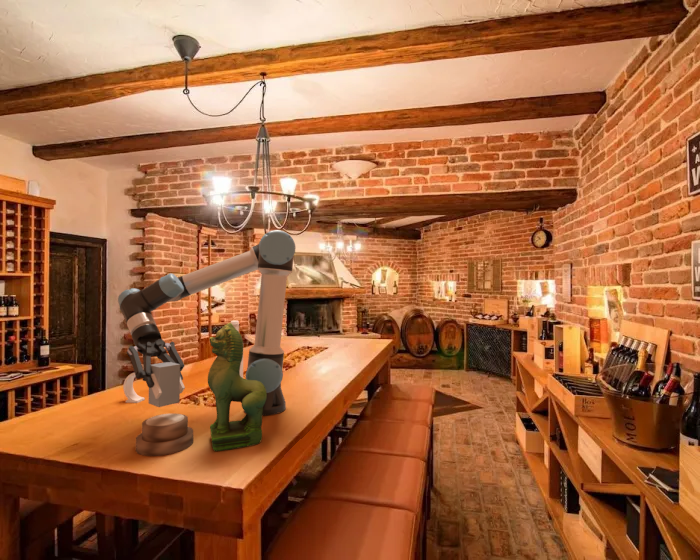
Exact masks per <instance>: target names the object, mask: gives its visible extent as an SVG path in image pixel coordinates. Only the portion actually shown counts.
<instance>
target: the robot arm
mask: <svg viewBox="0 0 700 560" xmlns="http://www.w3.org/2000/svg"><path fill="white" fill-rule="evenodd" d="M295 254H296V243H295V241H294V239H293V237H292V236H291V235H290V234H289V233H288V232H286V231H284V230H282V229H281V230H280V229H274V230H269V231H268V232H266V233H265V234H263V236H262V237H261V238H260V240H259V243H258V244H257V245H256V244H255V245H253V246H251V247H250V249H249V250H248V251H245V252H242V253H241V254H237V255H235V256H232V257H229V258H226V259H223V260H221V261H218V262H215V263H213V264H210V265H207V266H205V267H202V268H199V269H197V270H194V271H191V272H189V273H186V274H182V275H180V276H177V275H175V274H174V273H171V272H170V273H168V274H165V276H161V277H160V278H159V279H157V280H156V281H154V282H153V283H151V284H150V285H147V286H146V287H145V288H142V289H141V290H140V289H139V288H134V287H131V288H130V289H125V290H123V291H122V292H121V293H120V294H119V295H118V297H117V302H118V306H119V310H120V312H121V313H122V316H123V318H124V321H125V323H126V326H127V329H128V331H129V334H130V336H131V339H132V341H133V344H134V345H135V346H133V345H129V347H128V348H127V351H126V354H127V355H128V357H129V358H130V360H131V365H132V367H133V373H135V375H136V377H135V378H136V379H138V380H139V379H142V381H143V382H145V383H146V386H147V388H148V389H149V388H152V390H153V393H154V395H155V398H156V399H158V398H159V397H160V395H161V394H162V391H161V389H160V386H159V384H158V381H157V379H156V377H155V374H151V363H152V361H151V358H152V357H156V358H157V359H158V360H161V363H165V362H172V363H177V364H180V394H182V393H183V392H184V390H185V388H186V387H185V385H184V382H183V380H184V377H183V374H182V371H183V369H184V367H185V364H184V361H183V360H182V358H181V356H180V354H179V352H178V351H177V349H176V345H175V342H174V341H170V342H165V340H163V338H162V335H161V332H160V330H159V327H158V326H157V323H156V320H155V318H154V316H153V314H152V312H153V311H155V310H157V309H158V308H160V307H161V306H163V305H164V304H167V303H169V302H170V303H171V302H178V301H180V300H182V299H185V298H187V297H189V296H192V295H194V294H197V293H200V292H202V291H205V290H207V289H209V288H212V287H216V286H217V285H221V284H224V283H225V282H226V283H227V282H228V281H229V282H230V281H231V280H234V279H237V278H238V277H241V276H244V275H247V274H251V273H252V272H255V271H258V272H259V273H260V274H261V278H260V287H259V295H258V297H259V299H258V306H257V314H256V315H257V316H256V323H255V324H256V326H255V334H254V336H255V337H254V344H253V345H252V346H251V347H250V348H249V350H248V356H247V357H248V359H247V366H246V367H247V369H246V371H245V379H246V380H257V381H260V382H261V383H262V384H263V385H264V386H265V388H266V392H267V397H266V401H265V404H264V406H263V412H262V417H263V416H264V417H265V416H271V415H272V416H273V415H277V414H280V413H282V412H284V411H285V410H286V399H285V397H284V393H283V390H282V381H283V377H284V373H283V367H284V355H285V351H284V349H283V348H282V347H281V340H282V332H283V331H282V330H283V322H284V321H283V320H284V310H285V301H286V290H287V282H288V281H287V280H288V276H289V275H291V274H292V273H293V267H294V266H293V265H294V257H295V256H294V255H295ZM138 352H139V353H140V354H142V362H143V363H142V362H141V359H140V356H139V355H140V354H139V353H138ZM243 412H244V413H245V414H246V412H245V411H244V410H243Z"/></svg>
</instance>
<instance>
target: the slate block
mask: <svg viewBox="0 0 700 560" xmlns="http://www.w3.org/2000/svg"><path fill="white" fill-rule="evenodd" d="M151 374H155V377H156V379H157V381H158V384H159V386H160V389H161V391H162V394H161V395H160V397H159V398H158V399H156V398H155V395H154V393H153V390H152V388H149V387H148V404H149V405H152V406H154V407H157V408H162V407H165V406H166V407H167V406H170V405H174V404H178V403H180V399H181V398H180V397H181V395H180V394H181V393H180V364H177V363H172V362H165V363H163V362H159V363H152V364H151Z"/></svg>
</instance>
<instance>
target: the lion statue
mask: <svg viewBox="0 0 700 560" xmlns="http://www.w3.org/2000/svg"><path fill="white" fill-rule="evenodd" d="M209 343H210V346H211V347H212V348H211V352H212V354H214V355H216V357H215V359H214V360H213V362H212V364H211V365H210V368H209V370H208V373H207V374H208V375H207V384H208V387H209V390H211V392H212V393H213V395H214V399H215V409H216V410H215V411H216V420H215V421H214V422H213V423H211V424H210V428H209V429H210V437H211V439H210V440H211V444H212V445H211V446H212V450H213V451H214V452H220V451H223V452H224V451H230V450H234V449H239V448H240V449H242V448H247V447H248V448H249V447H251V446H255V445H258V444H260V443H261V442H262V440H263V439H262V438H263V430H262V423H263V416H262V412H263V406H264V404H265V401H266V397H267V392H266V388H265V386H264V385H263V384H262V383H261V382H260V381H257V380H246V378H244V377H243V378H242V377H241V376H240V364H241V361H242V358H243V359H244V341H243V337H242V334H241V333H240V331H239V332H238V331H237V330H236V329H235V328H234V326H233V325H232V324H231V322H228V323H226V324H225V325H223V326H222V327H221V328H220V329H219V330H217V332H216V333H215V336H210V337H209ZM232 402H235V403H236V402H237V403H241V407H242V410H243V412H244V411H245V412H246V413H245V412H244V413H245V415H244V417H243V418H242V419H241V420H234V421H233V420H232V421H230V410H231V403H232Z"/></svg>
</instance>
